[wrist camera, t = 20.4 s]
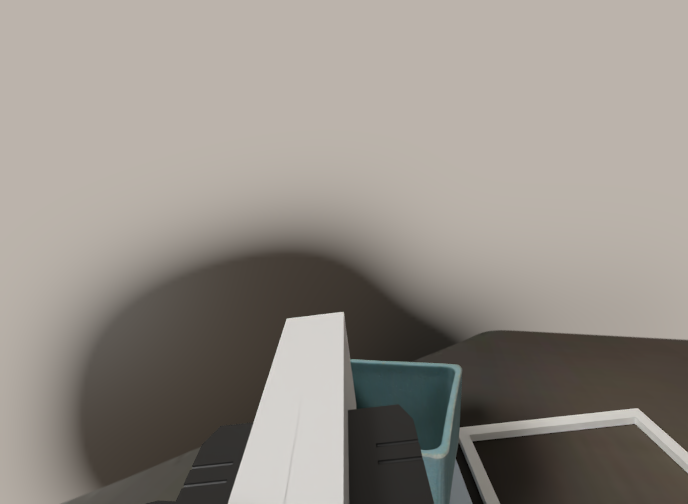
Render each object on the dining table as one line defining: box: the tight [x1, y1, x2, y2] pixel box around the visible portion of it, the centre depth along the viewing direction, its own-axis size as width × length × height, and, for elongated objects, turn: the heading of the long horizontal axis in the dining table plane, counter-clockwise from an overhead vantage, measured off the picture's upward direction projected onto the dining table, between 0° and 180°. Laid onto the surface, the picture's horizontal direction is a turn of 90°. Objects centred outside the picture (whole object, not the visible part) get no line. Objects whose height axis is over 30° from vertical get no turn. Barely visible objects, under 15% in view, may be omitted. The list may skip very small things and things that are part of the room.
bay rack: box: [449, 408, 688, 504], centre depth 28 cm, size 28×17×5 cm, turn 91°
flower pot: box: [350, 359, 462, 504], centre depth 27 cm, size 9×9×9 cm
